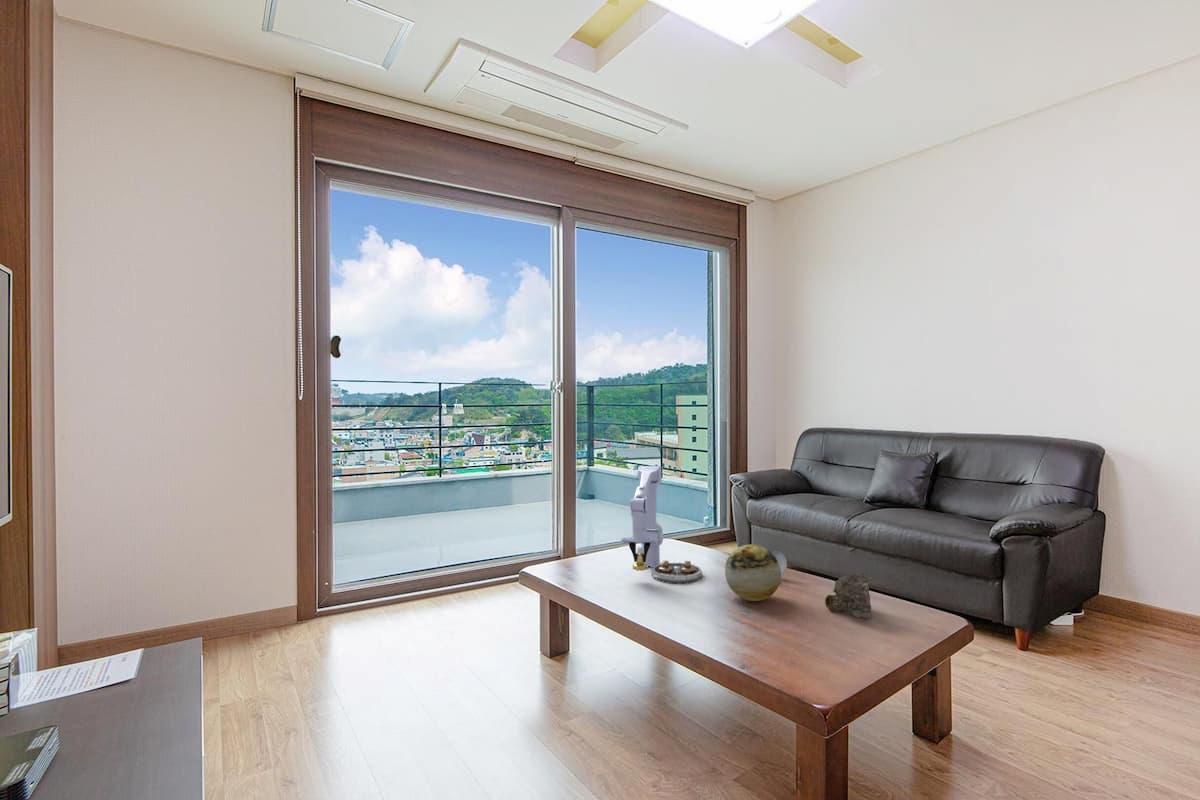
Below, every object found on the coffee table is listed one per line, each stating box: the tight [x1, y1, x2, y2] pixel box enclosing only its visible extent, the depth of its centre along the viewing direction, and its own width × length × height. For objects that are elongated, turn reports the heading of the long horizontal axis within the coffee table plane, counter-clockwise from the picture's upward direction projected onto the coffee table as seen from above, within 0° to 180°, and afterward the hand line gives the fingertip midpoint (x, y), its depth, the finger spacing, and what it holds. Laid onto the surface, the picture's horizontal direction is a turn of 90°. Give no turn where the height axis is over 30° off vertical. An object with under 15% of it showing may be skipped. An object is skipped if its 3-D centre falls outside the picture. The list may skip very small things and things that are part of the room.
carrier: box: [651, 560, 703, 584], centre depth 253 cm, size 21×21×5 cm
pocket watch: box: [771, 550, 788, 576], centre depth 244 cm, size 10×11×15 cm
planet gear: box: [632, 552, 649, 571], centre depth 245 cm, size 6×6×6 cm
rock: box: [824, 572, 874, 620], centre depth 206 cm, size 18×14×15 cm
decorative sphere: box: [724, 543, 782, 602], centre depth 222 cm, size 20×20×20 cm
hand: (640, 561), depth 245 cm, fingers closed on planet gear, 3 cm apart
